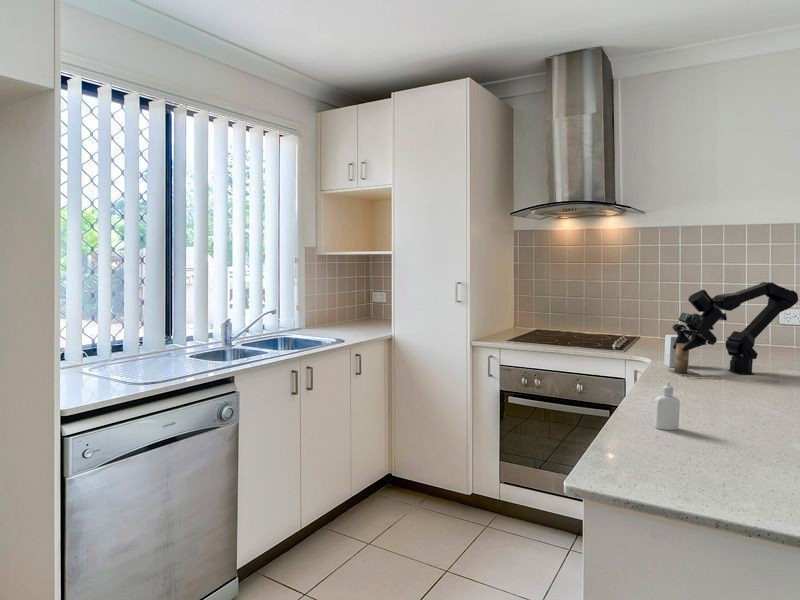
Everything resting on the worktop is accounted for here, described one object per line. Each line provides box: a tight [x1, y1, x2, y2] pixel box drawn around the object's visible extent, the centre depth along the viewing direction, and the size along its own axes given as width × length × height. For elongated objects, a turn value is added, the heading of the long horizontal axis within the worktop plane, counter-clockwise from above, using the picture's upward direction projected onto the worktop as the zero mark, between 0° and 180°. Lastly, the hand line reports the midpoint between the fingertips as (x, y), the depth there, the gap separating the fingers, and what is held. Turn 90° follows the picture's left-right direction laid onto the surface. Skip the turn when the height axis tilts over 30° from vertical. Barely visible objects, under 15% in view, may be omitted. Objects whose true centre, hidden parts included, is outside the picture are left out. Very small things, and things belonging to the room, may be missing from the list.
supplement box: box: [663, 334, 691, 368], centre depth 214 cm, size 7×7×13 cm
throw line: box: [685, 377, 721, 380], centre depth 191 cm, size 12×1×1 cm, turn 90°
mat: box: [668, 369, 704, 377], centre depth 199 cm, size 8×10×1 cm
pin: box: [673, 343, 690, 374], centre depth 199 cm, size 4×4×11 cm
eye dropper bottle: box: [653, 381, 680, 431], centre depth 132 cm, size 4×6×12 cm
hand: (678, 349), depth 199 cm, fingers open, 5 cm apart
